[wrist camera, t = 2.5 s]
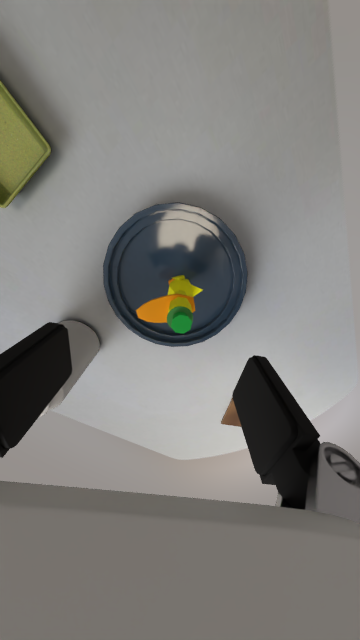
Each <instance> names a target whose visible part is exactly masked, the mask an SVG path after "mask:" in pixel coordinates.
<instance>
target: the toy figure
mask: <svg viewBox="0 0 360 640" xmlns="http://www.w3.org/2000/svg"><path fill="white" fill-rule="evenodd" d="M172 278H173V279H171V280H169V281H168V282H169V290H168V295H166V296H162V297H159V298H156V299H152V300H150V301H148V302H146V303H144V304H143V305H142V306H141V307H139V308H138V309H137V310H136V312H137V315H138V318H140V319H142V320H145V321H147V322H153V323H168V325H169V327H171V328H172V329H173V330H174V331H175V332H176V333H182V334H184V333H185V332H187V331H189V330H190V329H191V325H192V322H193V314H192V313H193V312H194V311H195V304H194V298H193V297H194V296H195V295H197V294H198V293H200V292H201V291H202V290H203V289H200V288H198V287H196V286H193V285H191V283H190V282H189V280H188V279H185V276H184V275H179V276H176V277H172Z"/></svg>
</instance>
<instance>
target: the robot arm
mask: <svg viewBox="0 0 360 640" xmlns="http://www.w3.org/2000/svg"><path fill="white" fill-rule="evenodd" d="M71 374H72V361H71V353H70V344H69V335H68V329H67V328H65V326H64V325H63V324H58V323H52V322H49V323H47V324H45V325H44V326H42V327H41V328H39V329H38V330H36V331H35V332H33V333H32V334H30V335H29V336H27V337H26V338H24V339H23V340H21V341H20V342H18V343H17V344H15V345H14V346H12V347H11V348H9V349H8V350H6V351H5V352H3V353H2V354H0V457H3V456H4V455H5V454H6V453H7V451H8V450H9V449H10V448H13V447H14V446H16V445H17V444H18V443H19V441H20V440H21V439H22V437H23V436H24V435H25V434H26V432H27V431H28V430H29V429H30V427H31V426H32V425H33V423H34V422H35V421H36V420H37V418H38V417H39V416H40V415H41V413H42V412H43V411H44V409H45V408H46V407H47V406H48V404H49V403H50V402H51V400H52V399H53V398H54V397H55V395H56V394H57V393H58V391H59V390H60V389H61V388H62V386H63V385H64V384H65V382H66V381H67V380H68V379H69V377H70V376H71ZM233 401H234V405H235V408H236V411H237V414H238V417H239V420H240V424H241V427H242V430H243V433H244V436H245V439H246V443H247V446H248V449H249V452H250V455H251V459H252V462H253V465H254V468H255V471H256V472H257V473H258V474H259V475H260V478H261V480H262V484H271V485H276V487H277V490H278V497H277V501H276V505H275V506H269V505H258V504H249V503H239V502H229V501H218V500H207V499H198V498H187V497H177V496H166V495H155V494H142V493H133V492H121V491H111V490H100V489H88V488H77V487H65V486H53V485H42V484H30V483H17V482H6V481H0V640H360V463H359V462H358V461H357V460H356V459H355V458H354V457H353V456H352V455H351V454H349V453H348V452H347V451H345V450H344V449H343V448H341V447H339V446H337V445H335V444H332V443H329V442H323V443H322V444H320V442H319V441H318V438H319V436H320V435H319V433H318V432H317V431H316V429H315V428H314V426H313V425H312V423H311V422H310V420H309V419H308V418H307V416H306V415H305V413H304V412H303V410H302V409H301V407H300V406H299V405H298V403H297V402H296V400H295V399H294V397H293V396H292V394H291V393H290V392H289V390H288V389H287V387H286V386H285V384H284V383H283V381H282V380H281V378H280V377H279V376H278V374H277V373H276V371H275V370H274V368H273V367H272V365H271V364H270V363H269V361H268V360H267V358H266V357H261V356H253V357H252V358H249V359H248V361H247V363H246V366H245V368H244V370H243V372H242V374H241V376H240V379H239V381H238V383H237V385H236V387H235V389H234V392H233Z"/></svg>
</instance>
